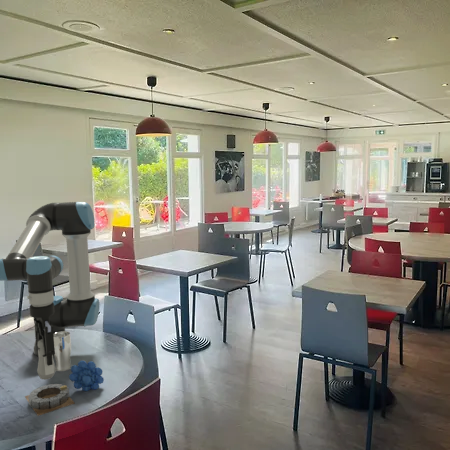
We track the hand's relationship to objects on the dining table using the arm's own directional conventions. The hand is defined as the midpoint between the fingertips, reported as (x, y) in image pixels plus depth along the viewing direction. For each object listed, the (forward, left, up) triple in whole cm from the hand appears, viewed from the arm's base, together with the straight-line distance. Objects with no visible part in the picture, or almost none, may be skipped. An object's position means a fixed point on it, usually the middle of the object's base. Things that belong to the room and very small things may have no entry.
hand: (46, 370), depth 154 cm
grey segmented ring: (0, 0, -11) cm, 11 cm away
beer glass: (-22, +12, -12) cm, 28 cm away
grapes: (+2, +13, -12) cm, 18 cm away
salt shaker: (0, 0, -3) cm, 3 cm away
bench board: (0, 0, -12) cm, 12 cm away
